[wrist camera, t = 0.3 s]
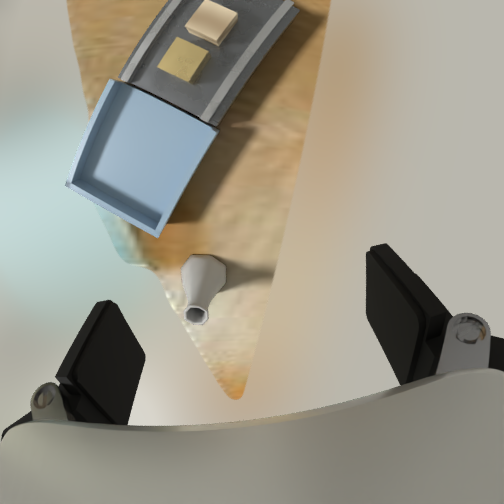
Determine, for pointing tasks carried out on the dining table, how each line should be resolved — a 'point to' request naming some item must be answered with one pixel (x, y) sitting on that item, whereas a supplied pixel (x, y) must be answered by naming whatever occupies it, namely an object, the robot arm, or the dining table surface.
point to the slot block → (222, 58)
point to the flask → (201, 285)
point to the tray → (138, 155)
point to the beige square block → (212, 22)
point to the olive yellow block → (184, 60)
